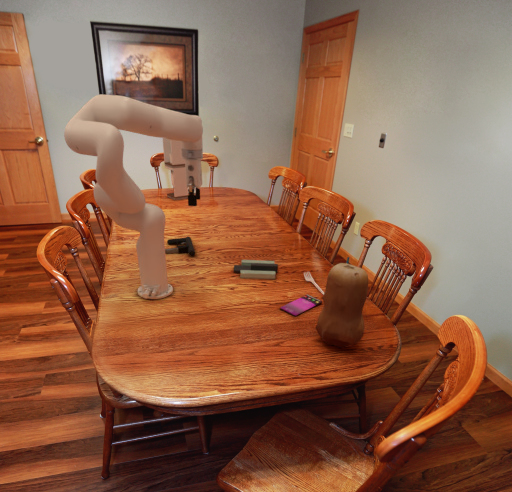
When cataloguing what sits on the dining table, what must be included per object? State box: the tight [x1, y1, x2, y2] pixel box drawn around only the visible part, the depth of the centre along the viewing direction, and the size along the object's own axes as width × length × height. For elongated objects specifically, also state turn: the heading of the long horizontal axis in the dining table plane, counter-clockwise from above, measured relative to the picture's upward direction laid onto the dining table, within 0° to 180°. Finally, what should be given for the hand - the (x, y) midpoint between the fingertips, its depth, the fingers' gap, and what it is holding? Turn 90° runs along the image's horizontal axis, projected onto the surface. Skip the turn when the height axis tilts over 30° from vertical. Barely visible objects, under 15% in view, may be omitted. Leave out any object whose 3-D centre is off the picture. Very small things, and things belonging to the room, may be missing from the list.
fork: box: [303, 271, 325, 296], centre depth 155 cm, size 3×20×2 cm, turn 16°
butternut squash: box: [315, 262, 369, 348], centre depth 115 cm, size 14×13×25 cm
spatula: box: [233, 263, 279, 274], centre depth 164 cm, size 18×6×3 cm, turn 90°
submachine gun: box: [165, 236, 197, 257], centre depth 182 cm, size 3×20×16 cm
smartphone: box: [279, 293, 323, 317], centre depth 141 cm, size 7×15×1 cm, turn 134°
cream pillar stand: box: [162, 138, 188, 201], centre depth 253 cm, size 11×11×35 cm
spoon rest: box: [239, 259, 276, 280], centre depth 165 cm, size 14×14×2 cm
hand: (194, 202), depth 153 cm, fingers open, 9 cm apart
